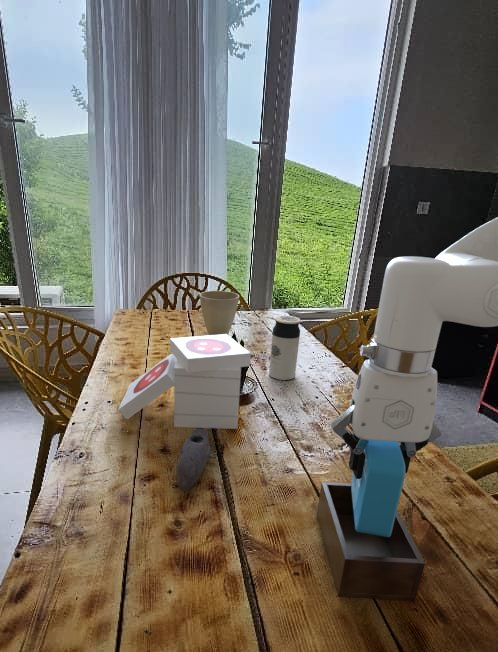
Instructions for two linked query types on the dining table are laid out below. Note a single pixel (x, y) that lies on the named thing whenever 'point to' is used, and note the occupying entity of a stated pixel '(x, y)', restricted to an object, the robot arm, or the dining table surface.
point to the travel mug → (284, 347)
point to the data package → (378, 488)
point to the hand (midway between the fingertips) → (376, 473)
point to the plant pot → (218, 310)
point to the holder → (366, 551)
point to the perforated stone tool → (192, 459)
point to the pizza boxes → (194, 382)
